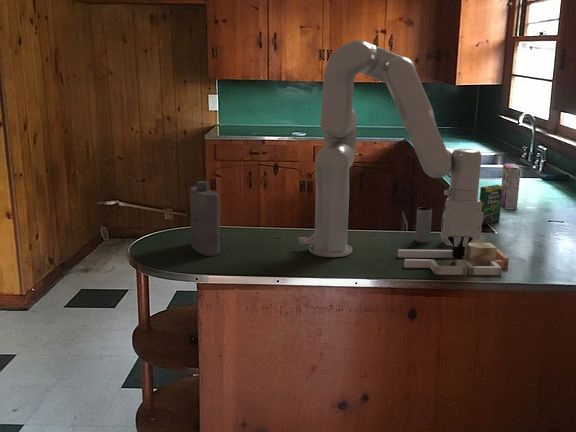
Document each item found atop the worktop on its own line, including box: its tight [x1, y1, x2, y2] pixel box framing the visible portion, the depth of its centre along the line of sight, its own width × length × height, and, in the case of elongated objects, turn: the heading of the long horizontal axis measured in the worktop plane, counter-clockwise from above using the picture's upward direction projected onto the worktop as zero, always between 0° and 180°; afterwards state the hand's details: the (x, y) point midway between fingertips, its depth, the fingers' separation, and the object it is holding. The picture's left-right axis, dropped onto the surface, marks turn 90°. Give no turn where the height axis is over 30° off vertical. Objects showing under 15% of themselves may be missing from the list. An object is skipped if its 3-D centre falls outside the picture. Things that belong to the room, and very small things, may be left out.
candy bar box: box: [500, 163, 522, 210], centre depth 243 cm, size 11×5×16 cm, turn 171°
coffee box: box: [479, 184, 502, 225], centre depth 217 cm, size 8×3×13 cm, turn 116°
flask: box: [189, 180, 221, 257], centre depth 178 cm, size 15×6×20 cm, turn 26°
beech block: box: [463, 242, 498, 266], centre depth 172 cm, size 7×5×5 cm
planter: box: [414, 206, 433, 243], centre depth 192 cm, size 4×4×10 cm
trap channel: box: [397, 248, 510, 276], centre depth 169 cm, size 28×16×3 cm, turn 91°
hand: (457, 259), depth 172 cm, fingers closed
